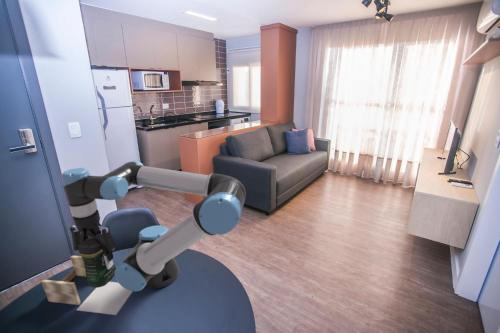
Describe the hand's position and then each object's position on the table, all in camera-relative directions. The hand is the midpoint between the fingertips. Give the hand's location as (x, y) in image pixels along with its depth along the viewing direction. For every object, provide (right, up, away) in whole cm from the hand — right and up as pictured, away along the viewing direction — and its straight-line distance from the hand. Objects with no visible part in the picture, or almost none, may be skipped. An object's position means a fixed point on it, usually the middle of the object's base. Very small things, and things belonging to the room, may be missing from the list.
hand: (100, 265), depth 92 cm
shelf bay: (-15, -13, +9) cm, 22 cm away
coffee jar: (0, -6, +2) cm, 6 cm away
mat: (0, -14, +5) cm, 15 cm away
